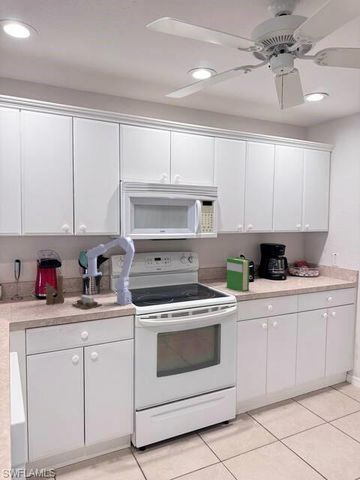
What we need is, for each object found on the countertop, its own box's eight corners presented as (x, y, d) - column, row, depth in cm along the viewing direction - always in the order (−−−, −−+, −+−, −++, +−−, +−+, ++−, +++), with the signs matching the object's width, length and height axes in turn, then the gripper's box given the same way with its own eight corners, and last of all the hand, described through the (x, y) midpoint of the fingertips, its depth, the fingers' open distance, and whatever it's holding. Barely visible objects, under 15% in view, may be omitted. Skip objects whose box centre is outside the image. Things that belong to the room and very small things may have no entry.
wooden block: (46, 303, 227) (45, 276, 226) (62, 301, 233) (62, 275, 232) (47, 305, 224) (47, 277, 223) (64, 302, 230) (64, 275, 229)
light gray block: (93, 305, 221) (93, 297, 220) (89, 306, 218) (89, 298, 218) (84, 302, 227) (84, 295, 227) (80, 303, 225) (80, 295, 224)
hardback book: (248, 290, 271) (249, 260, 270) (241, 291, 267) (242, 260, 266) (233, 286, 286) (233, 257, 284) (226, 287, 282) (227, 258, 280)
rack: (101, 305, 223) (101, 301, 223) (85, 309, 214) (85, 304, 213) (88, 302, 232) (88, 297, 232) (72, 305, 223) (72, 301, 223)
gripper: (97, 265, 242) (97, 284, 243) (79, 267, 231) (79, 288, 232) (103, 266, 238) (104, 286, 239) (85, 268, 226) (86, 289, 227)
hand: (92, 287), depth 235 cm, fingers open, 7 cm apart
